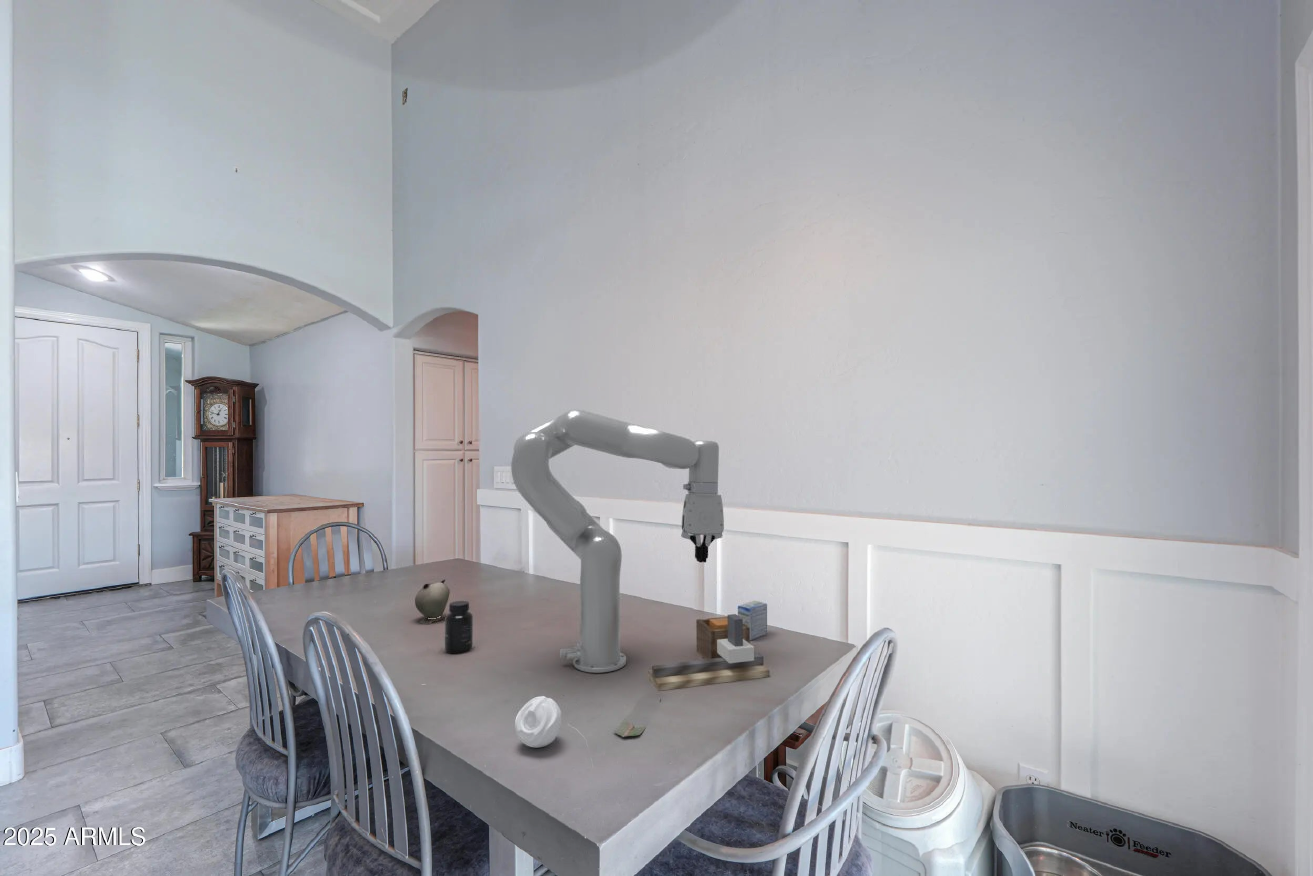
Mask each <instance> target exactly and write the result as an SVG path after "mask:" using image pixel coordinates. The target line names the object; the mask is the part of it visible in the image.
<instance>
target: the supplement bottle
mask: <svg viewBox="0 0 1313 876" xmlns="http://www.w3.org/2000/svg"><path fill="white" fill-rule="evenodd" d="M448 606H449V607H448V608H449V609H448V612H449V613H448V614H447V615H446V616H445V617H444V618H445V619H444V651H445V652H446V653H447V654H450V655H459V654H464V653H467V652H470V651H471V650H473V645H474V643H473V641H474V640H473V638H474V634H473V633H474V631H473V630H474V629H473V627H474V625H473V624H474V621H473V620H474V616H473V614H472V613H471V612H470V603H469V601H467V600H457V601H456V600H455V601H451V602H450V603H449V605H448Z"/></svg>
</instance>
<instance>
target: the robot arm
mask: <svg viewBox="0 0 1313 876" xmlns="http://www.w3.org/2000/svg"><path fill="white" fill-rule="evenodd" d="M575 446H578V447H582V448H584V449H585V448H587V449H590V450H595V451H596V452H597V451H598V452H602V453H605V454H609V455H613V456H616V457H622V458H627V459H639V460H646V461H648V462H649V461H650V462H655V463H659V464H661V465H662V466H664V467H665V468H669V469H675V470H687V469H688V481H687V483H686V484H685V483H684V484H683V485H682V489H683V490H685V491H687V493H686V494H685V497H684V501H683V506H682V507H683V508H682V515H681V530H682V532H681V535H680V536H681V538H683V539H686V540H689V541H691V542H692V543H693V545H694V558H695V559H696V561H697V562H699V563H707V559H708V557H709V547H710V546H711V544H712V543H713V542H714V541H715V540H719V539H721V538H723V537H724V536H723V533H724V530H725V516H724V507H723V506H724V505H723V499H722V495H721V494H719V465H720V464H719V459H720V458H719V457H720V456H719V455H720V447H719V444H718V442H716V441H712V440H694V441H693V440H691V439H689V438H687V437H683V436H680V435H678V434H677V435H676V434H673V433H669V432H665V431H662V430H658V429H655V428H654V429H653V428H650V427H645V426H642V425H639V424H634V423H630V422H627V421H624V420H623V421H622V420H620V419H619V420H618V419H615V418H612V417H608V416H604V415H601V414H598V413H593V412H590V411H586V410H584V409H574V408H573V409H569V410H567V411H566V412H564V413H562V414H560V415H559V416H557V417H555V418H553V419H552V420H549V421H548V422H546V423H544V424H541V425H540V426H538V427H535V428H534V429H532V430H530V431H527V432H525V433H523V434H522V435H520V436H519V437H518V438H517V439H516V440H515V443H514V445H513V453H512V457H511V458H512V459H511V465H510V466H511V467H510V469H511V477H512V481H513V483H514V486H515V487H516V490H517V491H518V493H519V494H520V496H521V497H522V498H523V500H525V502H526V503H527V504H529V506H530V507H531V508H532V510H533V511H535V512H536V514H538V515H539V517H541V518H542V519H543V520H544V521H545V523H546V525H547V526H548V528H549V529H550V530H551V531H552V533H554V535H556V537H558V539H560V541H562V542H563V543H564V544H565V546H567V548H569V549H570V550H571V551H572V552H573V553H574V555H575V556H576V557H578V559H579V560H580V577H579V642H576V643H577V644H576V645H577V646H573V648H560V650H559V653H560V654H559V657H560V658H566V660H573V661H572V662H573V667H575V668H576V669H577V670H578V671H582V672H585V673H594V674H595V673H596V674H598V673H599V674H600V673H608V672H613V671H617V670H619V669H621V668H623V667H624V666H626V664H627V656H626V655H625V654H624V653H623V652H621V647H620V646H621V635H620V634H621V629H620V628H621V626H620V625H621V622H620V621H621V620H620V618H621V614H620V611H621V607H620V606H621V602H620V601H621V599H620V592H621V591H620V588H621V587H620V580H621V571H622V569H621V568H622V556H623V555H622V549H621V545H620V542H619V541H618V539H617V538H616V536H614V535H613V534H612V533H611V532H609V531H608V530H606V529H604V528H603V527H602V526H601V525H600V524H599V523H598V522H597V520H595V519H594V518H593V517H592V516H591V515H590V513H588V511H587V509H586V507H585V506H584V505H583V504H582V503H581V502H580V501H579V500H577V499H576V498H575V497H574V496H573V495H572V494H571V493H570V492H569V491H568V490H567V489H566V488H565V487H564V486H563V485H562V484H561V483H560V481H558V479H557V478H556V477H555V476H554V475H553V474H552V472H551V470H550V466H549V465H550V464H549V462H550V459H552V458H554V457H555V456H557V455H560V454H561V453H563V452H565V451H567V450H569V449H571V448H572V447H575ZM543 520H542V521H543ZM701 535H702V537H701Z"/></svg>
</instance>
